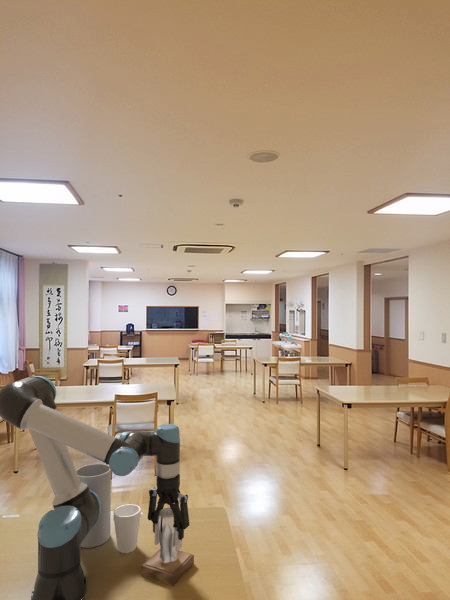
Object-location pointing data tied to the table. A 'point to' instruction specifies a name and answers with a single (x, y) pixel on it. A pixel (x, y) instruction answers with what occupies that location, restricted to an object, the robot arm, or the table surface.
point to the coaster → (168, 568)
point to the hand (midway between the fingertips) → (168, 545)
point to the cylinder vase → (101, 485)
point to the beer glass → (167, 536)
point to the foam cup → (127, 527)
